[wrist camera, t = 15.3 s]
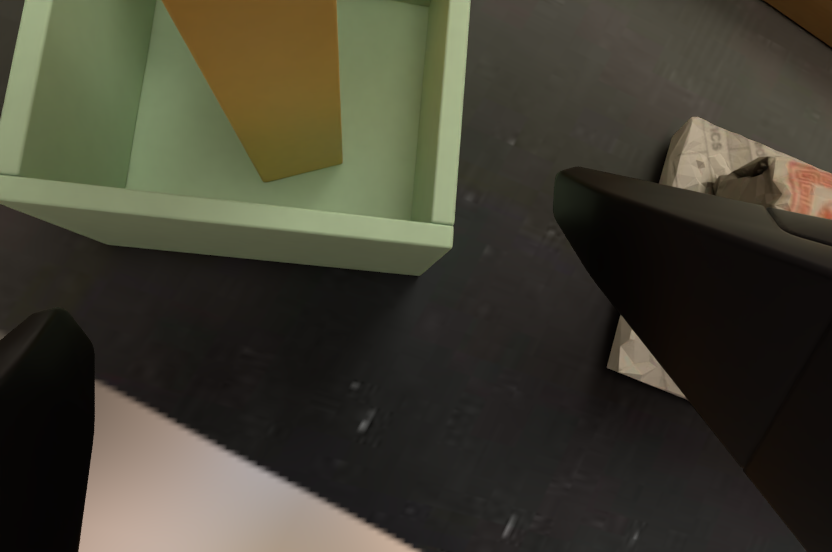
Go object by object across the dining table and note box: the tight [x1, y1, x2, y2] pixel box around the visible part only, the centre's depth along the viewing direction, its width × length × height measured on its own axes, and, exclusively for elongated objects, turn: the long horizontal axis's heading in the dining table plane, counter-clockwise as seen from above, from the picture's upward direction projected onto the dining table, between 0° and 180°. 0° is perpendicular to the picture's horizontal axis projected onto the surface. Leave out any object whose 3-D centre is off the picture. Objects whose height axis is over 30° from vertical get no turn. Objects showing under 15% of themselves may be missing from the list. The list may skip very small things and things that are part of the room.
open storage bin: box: [0, 0, 471, 276], centre depth 15 cm, size 11×11×6 cm
